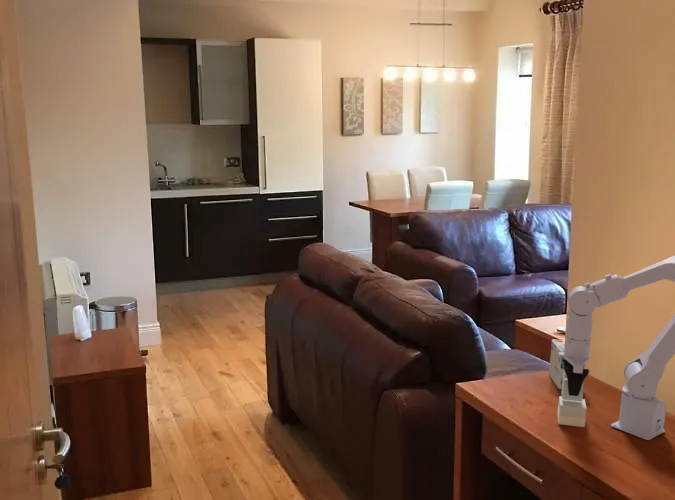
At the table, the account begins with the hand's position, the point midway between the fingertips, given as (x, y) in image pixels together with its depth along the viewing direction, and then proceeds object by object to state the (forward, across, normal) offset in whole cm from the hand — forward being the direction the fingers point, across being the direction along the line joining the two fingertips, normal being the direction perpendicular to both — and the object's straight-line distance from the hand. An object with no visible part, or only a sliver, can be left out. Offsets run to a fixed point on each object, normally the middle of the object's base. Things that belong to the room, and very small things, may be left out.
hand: (572, 391), depth 178 cm
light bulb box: (+8, -25, 0) cm, 27 cm away
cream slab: (+8, 0, 0) cm, 8 cm away
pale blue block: (+2, 0, 0) cm, 2 cm away
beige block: (+5, 0, 0) cm, 5 cm away
